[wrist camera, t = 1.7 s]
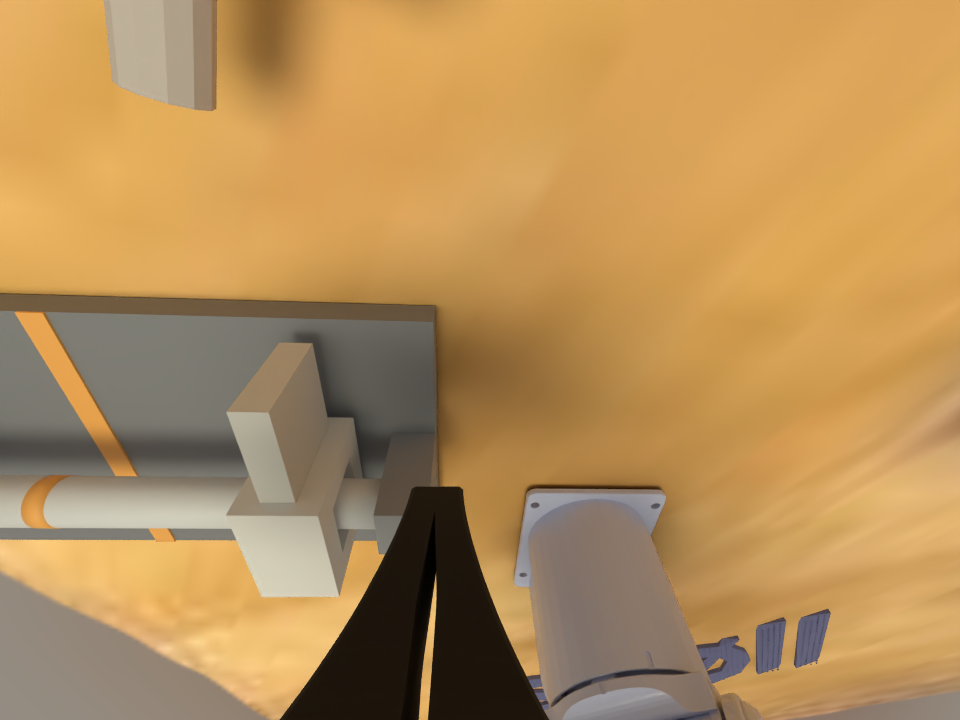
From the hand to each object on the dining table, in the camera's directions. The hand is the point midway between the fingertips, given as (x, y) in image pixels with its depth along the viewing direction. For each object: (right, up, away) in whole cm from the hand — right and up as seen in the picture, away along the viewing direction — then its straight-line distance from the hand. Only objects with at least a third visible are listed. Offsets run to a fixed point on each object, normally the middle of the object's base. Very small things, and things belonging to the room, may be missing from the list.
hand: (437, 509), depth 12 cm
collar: (-6, +1, +6) cm, 9 cm away
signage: (+17, -23, +26) cm, 38 cm away
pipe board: (-13, +1, +9) cm, 16 cm away
